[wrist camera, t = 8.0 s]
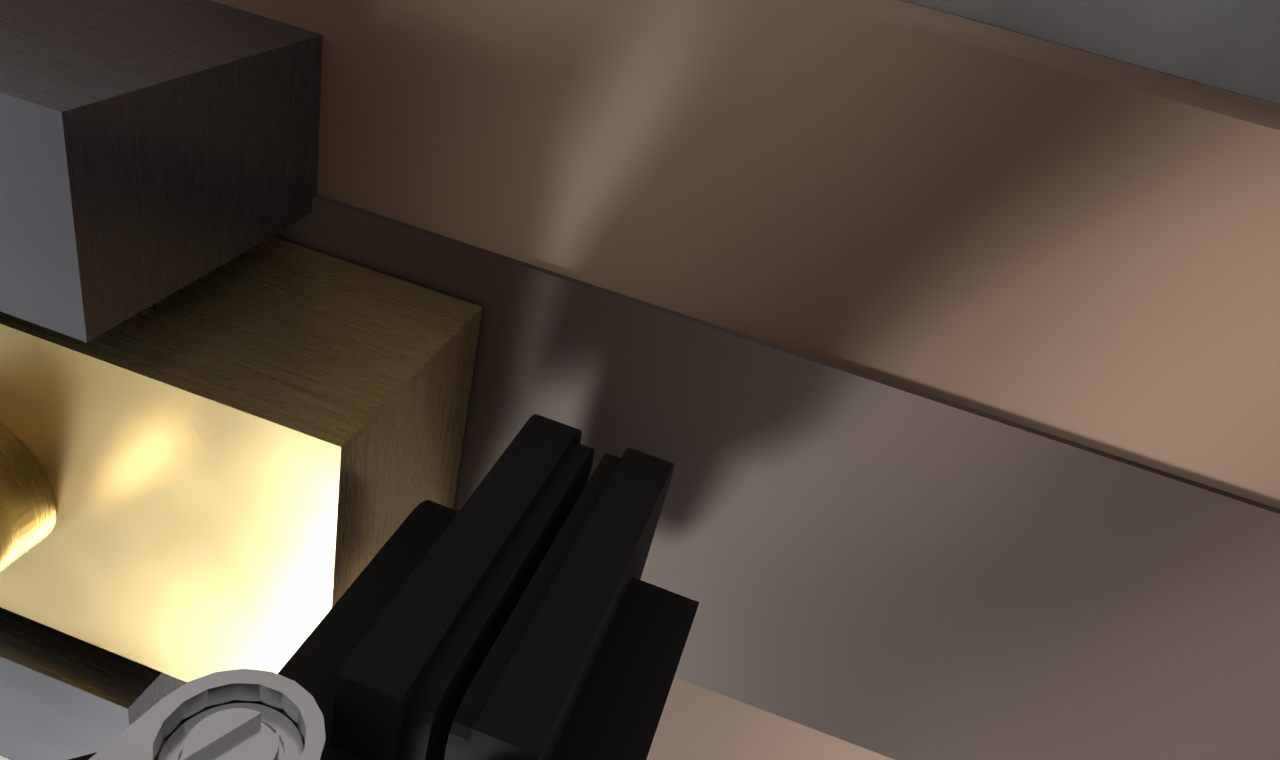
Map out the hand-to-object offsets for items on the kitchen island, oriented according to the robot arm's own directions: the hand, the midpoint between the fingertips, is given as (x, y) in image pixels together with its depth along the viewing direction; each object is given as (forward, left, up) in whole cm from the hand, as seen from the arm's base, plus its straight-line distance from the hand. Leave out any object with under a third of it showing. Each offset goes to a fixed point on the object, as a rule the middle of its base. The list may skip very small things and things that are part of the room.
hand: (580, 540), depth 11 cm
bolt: (+6, 0, -1) cm, 6 cm away
